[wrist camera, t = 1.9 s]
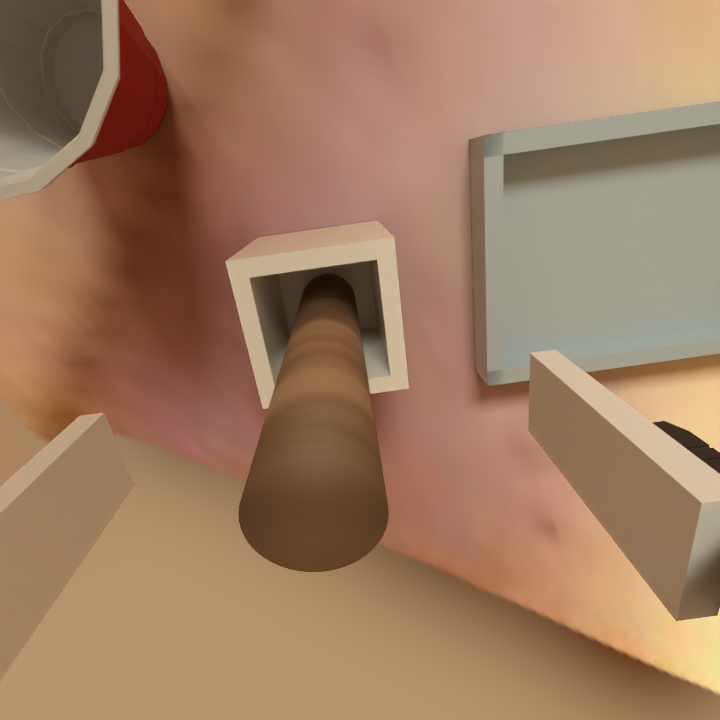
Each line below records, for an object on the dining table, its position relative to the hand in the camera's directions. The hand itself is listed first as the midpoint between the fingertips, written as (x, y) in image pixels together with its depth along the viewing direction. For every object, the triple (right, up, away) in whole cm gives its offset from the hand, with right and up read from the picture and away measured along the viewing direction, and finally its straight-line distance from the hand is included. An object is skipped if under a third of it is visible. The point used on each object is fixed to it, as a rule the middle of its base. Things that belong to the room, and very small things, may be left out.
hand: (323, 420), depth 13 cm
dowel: (-1, +5, +12) cm, 14 cm away
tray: (+17, +9, +13) cm, 23 cm away
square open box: (-1, +6, +13) cm, 14 cm away
